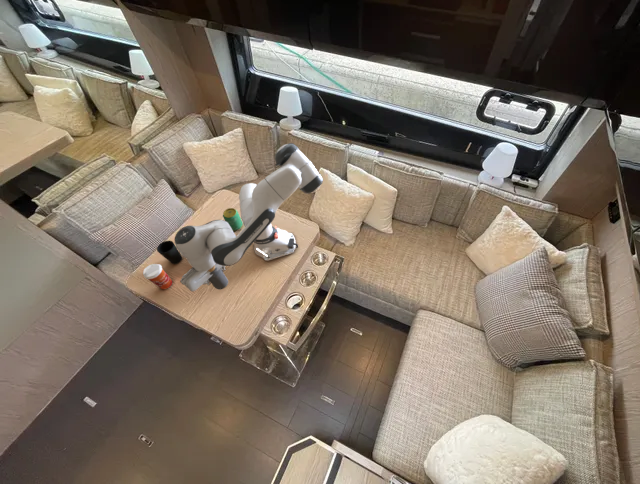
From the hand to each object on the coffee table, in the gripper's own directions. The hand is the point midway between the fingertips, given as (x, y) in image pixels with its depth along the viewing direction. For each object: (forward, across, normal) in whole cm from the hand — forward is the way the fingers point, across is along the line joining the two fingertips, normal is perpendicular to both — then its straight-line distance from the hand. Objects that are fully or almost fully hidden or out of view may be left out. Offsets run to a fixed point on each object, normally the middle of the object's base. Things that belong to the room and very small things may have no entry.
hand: (216, 276), depth 113 cm
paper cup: (+25, -13, +35) cm, 45 cm away
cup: (+25, -2, +43) cm, 50 cm away
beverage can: (+25, +32, +35) cm, 54 cm away
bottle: (+6, 0, 0) cm, 6 cm away
